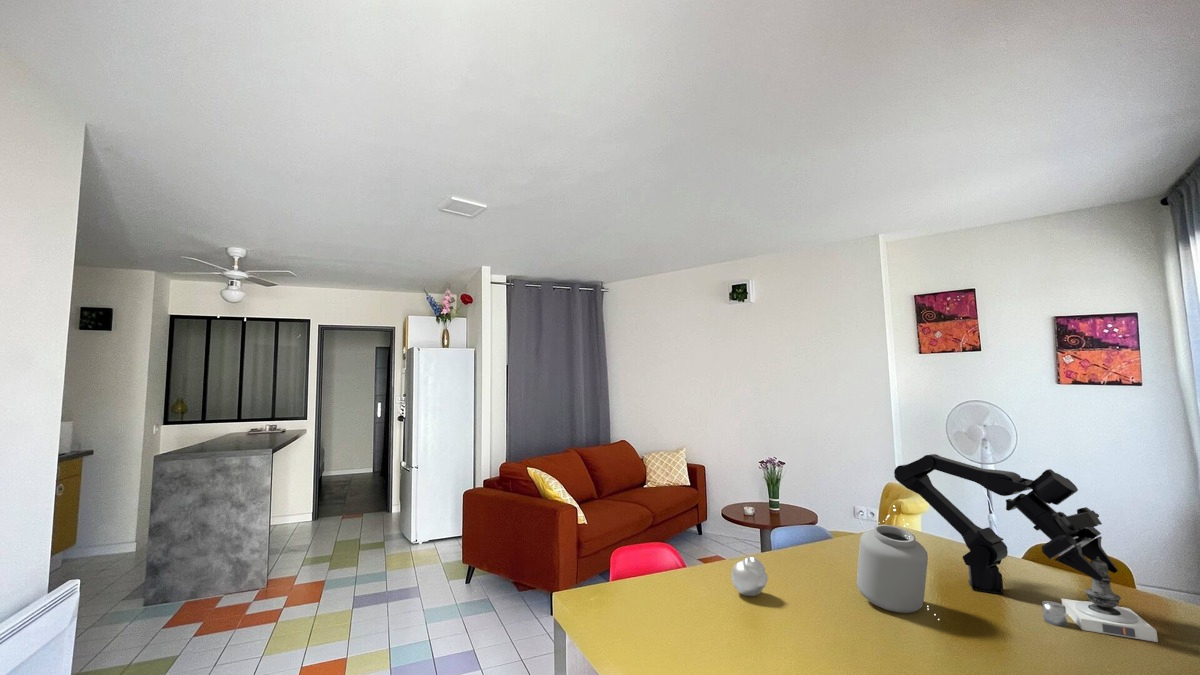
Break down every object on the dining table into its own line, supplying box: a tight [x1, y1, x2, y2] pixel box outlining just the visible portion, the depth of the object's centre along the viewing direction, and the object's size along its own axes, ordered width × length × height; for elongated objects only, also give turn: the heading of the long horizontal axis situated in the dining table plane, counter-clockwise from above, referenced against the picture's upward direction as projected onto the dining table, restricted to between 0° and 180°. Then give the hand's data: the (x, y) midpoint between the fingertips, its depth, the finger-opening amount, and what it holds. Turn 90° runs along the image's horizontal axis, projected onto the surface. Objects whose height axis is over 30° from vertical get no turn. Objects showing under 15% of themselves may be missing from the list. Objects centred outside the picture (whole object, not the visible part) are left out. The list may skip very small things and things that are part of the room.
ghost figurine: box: [730, 556, 769, 597], centre depth 130 cm, size 9×10×10 cm
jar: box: [856, 505, 940, 621], centre depth 123 cm, size 19×15×25 cm
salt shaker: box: [1084, 556, 1121, 616], centre depth 113 cm, size 6×6×12 cm
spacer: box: [1041, 600, 1068, 628], centre depth 113 cm, size 4×4×4 cm
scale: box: [1061, 598, 1159, 643], centre depth 112 cm, size 12×13×3 cm
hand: (1109, 575), depth 112 cm, fingers open, 9 cm apart
